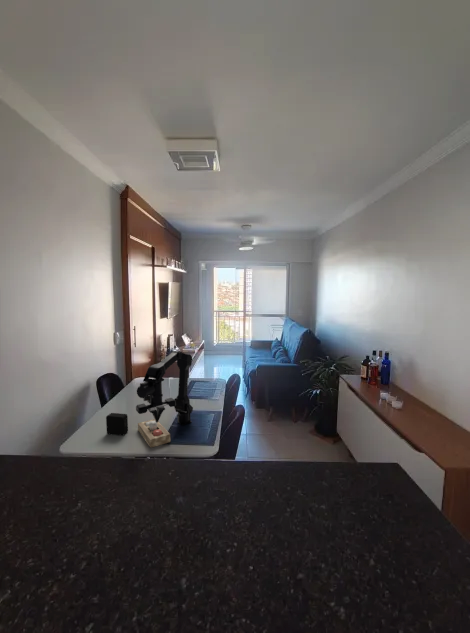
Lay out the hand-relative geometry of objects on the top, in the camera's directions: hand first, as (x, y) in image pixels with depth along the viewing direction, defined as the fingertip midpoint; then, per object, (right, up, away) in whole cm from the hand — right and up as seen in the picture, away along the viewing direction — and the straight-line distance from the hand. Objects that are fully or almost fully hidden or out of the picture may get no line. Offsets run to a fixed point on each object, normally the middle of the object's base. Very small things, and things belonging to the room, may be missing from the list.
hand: (156, 422), depth 148 cm
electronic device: (-24, -10, +10) cm, 27 cm away
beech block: (-3, -10, +6) cm, 12 cm away
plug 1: (-7, -9, +12) cm, 16 cm away
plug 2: (-3, -6, +6) cm, 9 cm away
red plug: (0, -9, +1) cm, 9 cm away
